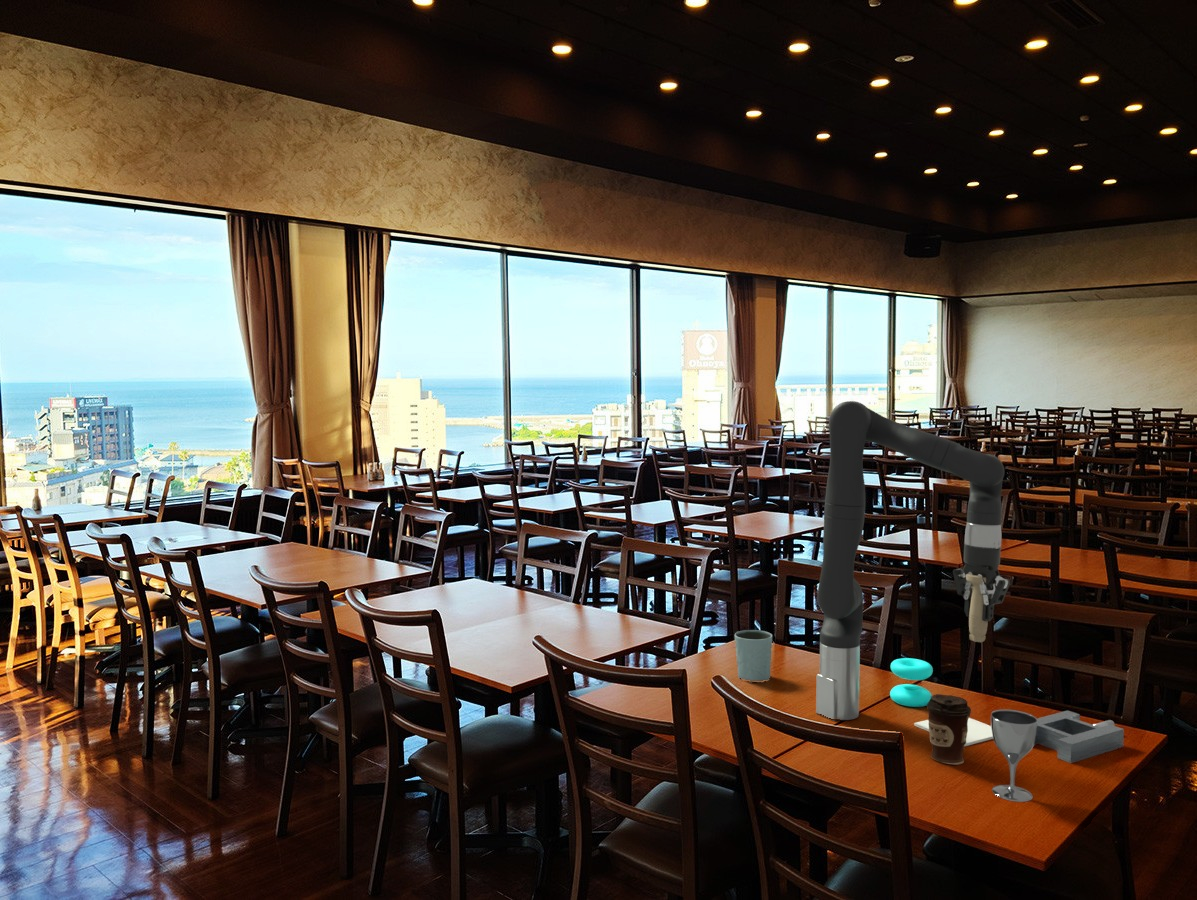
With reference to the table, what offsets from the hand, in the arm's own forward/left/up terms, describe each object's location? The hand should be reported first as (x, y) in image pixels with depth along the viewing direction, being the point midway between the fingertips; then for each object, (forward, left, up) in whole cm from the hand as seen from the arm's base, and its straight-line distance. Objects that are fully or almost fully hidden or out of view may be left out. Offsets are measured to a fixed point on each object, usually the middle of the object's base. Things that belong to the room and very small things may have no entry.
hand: (978, 618), depth 197 cm
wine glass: (-20, -24, -27) cm, 41 cm away
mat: (-2, +3, -26) cm, 26 cm away
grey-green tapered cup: (-20, +56, -27) cm, 65 cm away
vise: (+15, -14, -26) cm, 33 cm away
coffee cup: (-18, -7, -27) cm, 33 cm away
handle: (0, 0, -5) cm, 5 cm away
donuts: (+3, +22, -27) cm, 34 cm away
